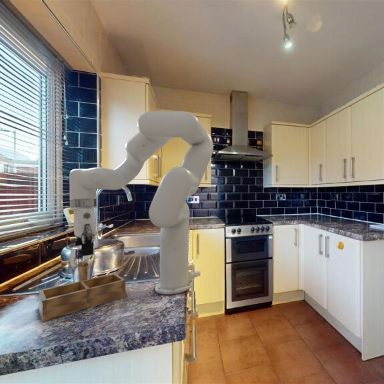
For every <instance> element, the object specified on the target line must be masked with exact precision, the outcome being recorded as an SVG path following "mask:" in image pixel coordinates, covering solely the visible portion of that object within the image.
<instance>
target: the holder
mask: <svg viewBox="0 0 384 384" xmlns="http://www.w3.org/2000/svg"><path fill="white" fill-rule="evenodd" d="M124 298H126V279H124V278H123V277H122V276H120V275H118V274H117V273H116V272H114V273H110V274H105V275H101V276H96V277H92V279H87V280H83V281H78V282H74V283H73V282H69V283H65V284H61V285H56V286H53V287H48V288H43V289H39V290H38V313H39V315H40V319H41V322H42V323H43V322H47V321H50V320H53V319H57V318H60V317H64V316H67V315H69V314H74V313H77V312H80V311H83V310H87V309H90V308H94V307H97V306H99V305H104V304H107V303H110V302H113V301H117V300H119V299H124Z"/></svg>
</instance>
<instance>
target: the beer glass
mask: <svg viewBox="0 0 384 384" xmlns="http://www.w3.org/2000/svg"><path fill="white" fill-rule="evenodd" d="M69 256H70V257H69V266H70V272H71V276H72V283H74V282H78V281H83V280H87V279H92V278H93V273H94V269H95V263H96V251H95V244H93V255H87V256H82V255H81V245H79V246H75V245H74V246H71V247H70V254H69Z"/></svg>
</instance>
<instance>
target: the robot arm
mask: <svg viewBox="0 0 384 384" xmlns="http://www.w3.org/2000/svg"><path fill="white" fill-rule="evenodd" d="M136 126H137V129H138V132H137V133H136V134H134V136H132V137H131V138H130V139H129V140H128V141H126V143H125V145H124V148H125V150H126V157H125V159H124V160H123V161H122V163H121V164H119V165H118V166H117V167H116V168H114V169H113V168H112V169H111V168H105V167H91V168H74V169H72V170H70V171H69V210H73V233H74V236H75V245H74V246H79V245H81V255H82V256H87V255H93V245H94V237H96V236H97V222H96V221H97V220H96V210H95V209H97V205H98V204H97V202H98V201H97V190H105V191H106V190H108V191H109V190H110V191H116V190H117V191H118V190H121V189H123V188H125V187H126V186H127V185H129V184H130V183H131V182H132V181H133V180H134V179H135V178H137V176H138V175H139V174H140V172H141V170H142V169H143V168H144V165H145V163H146V161H148V160H149V159H150V158H151V157H152V156H153V155H155V154H156V153H157V152H158V151H159V150H160V149H161V148H162V147H164V146H166V144H167V143H168V142H170V141H171V139H172V138H180V139H182V140H183V141H184V142H186V144H188V145H189V148H188V150H187V152H186V153H185V154H184V156H183V159H182V162H181V164H180V166H176V167H173V168H170V169H169V170H167V171H166V173H164V175H163V176H162V178H161V181H160V183H159V184H158V187H157V189H156V191H155V194H154V196H153V199H152V200H151V203H150V206H149V210H148V218H149V220H150V222H151V223H152V225H154V226H155V227H157V228H160V230H159V231H160V232H159V282H157V284H155V286H154V291H155V293H157V294H159V295H176V294H181V293H184V292H187V291H189V290H191V289H192V288H193V286H194V281H193V280H194V278H197V277H200V276H201V271H200V270H197V271H193V270H191V271H189V227H190V216H191V211H190V207H189V205H188V203H187V200H188V197H190V196H193V195H194V194H196V193H197V191H198V189H199V187H200V185H201V182H202V180H203V178H204V175H205V172H206V171H207V168H208V166H209V163H210V161H211V158H212V155H213V151H214V142H213V138H212V136H211V135H210V133H209V132H208V131H207V129H206V127H204V125H203V124H202V122H201V121H200V119H199V118H198V117H197V116H196V115H195V114H194V113H192V112H190V111H185V110H184V111H182V110H150V111H147V112H144V113H142V114H140V116H139V117H138V119H137V122H136Z"/></svg>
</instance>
